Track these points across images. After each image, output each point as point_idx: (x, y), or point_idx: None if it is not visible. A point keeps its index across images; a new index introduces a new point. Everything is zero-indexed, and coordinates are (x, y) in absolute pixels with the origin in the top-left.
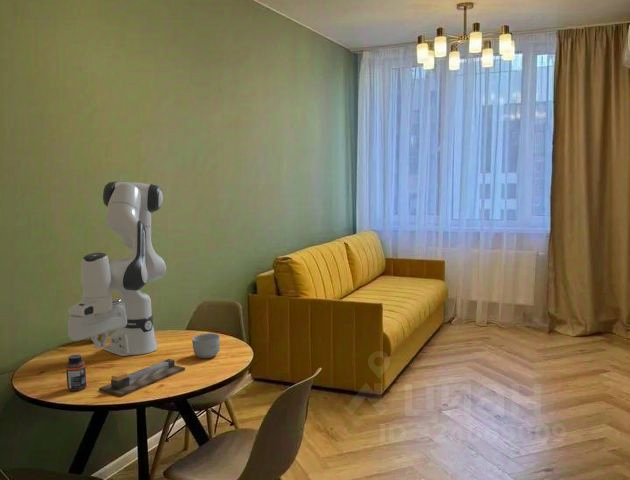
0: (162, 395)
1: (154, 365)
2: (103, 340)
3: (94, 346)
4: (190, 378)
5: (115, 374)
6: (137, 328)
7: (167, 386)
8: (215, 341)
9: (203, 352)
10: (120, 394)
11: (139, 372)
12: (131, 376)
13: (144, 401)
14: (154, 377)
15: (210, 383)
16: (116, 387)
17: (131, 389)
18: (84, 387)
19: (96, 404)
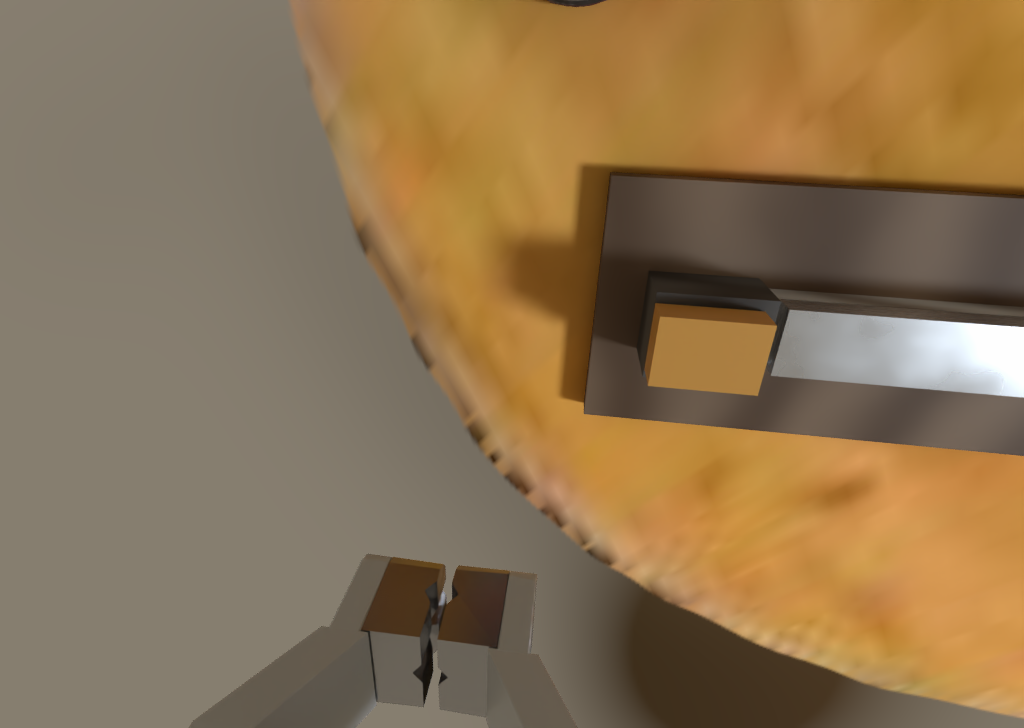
0: (687, 575)
1: None
2: (489, 715)
3: (359, 572)
4: (1009, 574)
5: (698, 327)
6: None
7: (830, 530)
8: None
9: None
10: (585, 398)
11: (917, 365)
12: (800, 371)
13: (580, 544)
14: (951, 410)
15: (928, 686)
16: (642, 330)
17: (671, 418)
18: (596, 3)
19: (425, 349)
